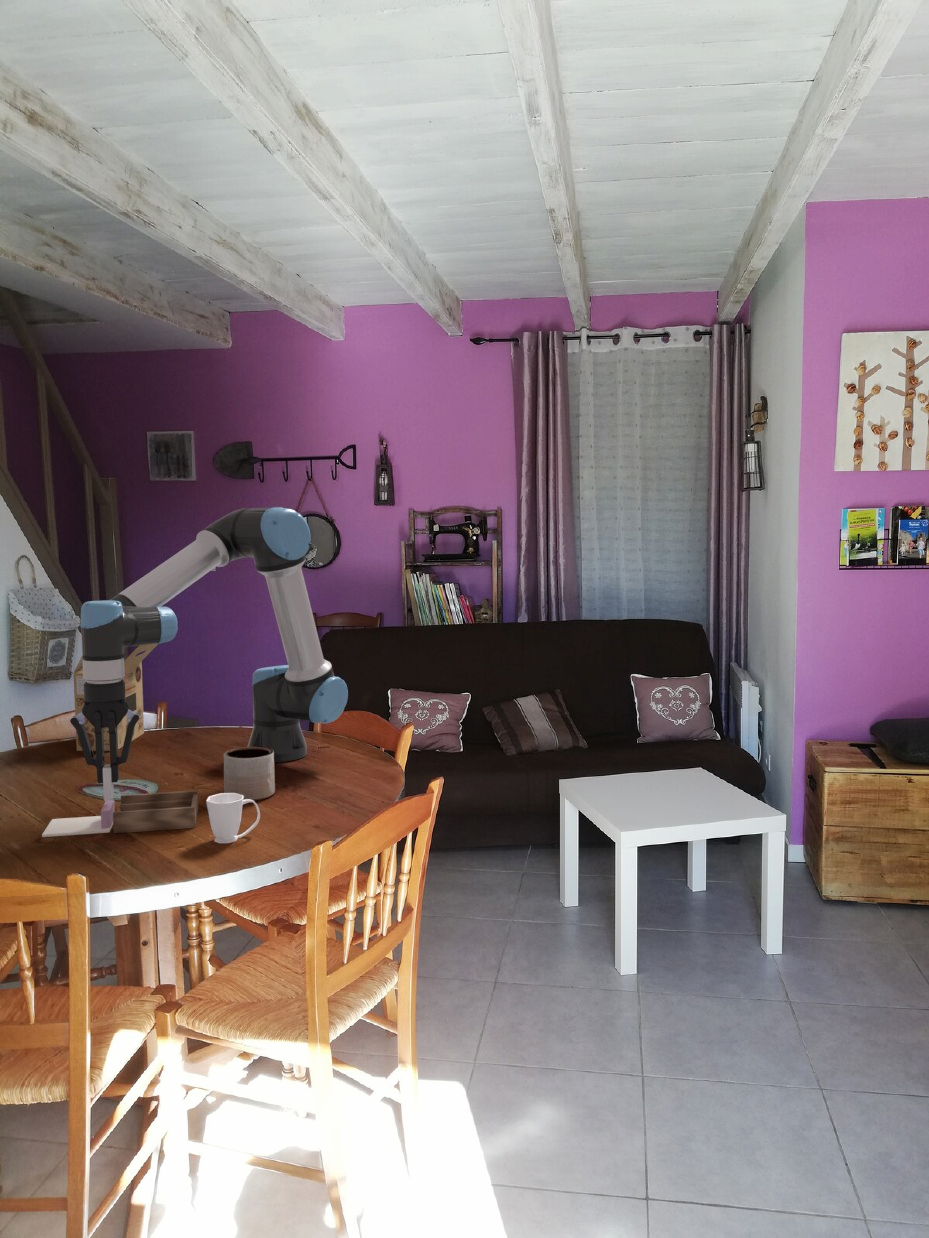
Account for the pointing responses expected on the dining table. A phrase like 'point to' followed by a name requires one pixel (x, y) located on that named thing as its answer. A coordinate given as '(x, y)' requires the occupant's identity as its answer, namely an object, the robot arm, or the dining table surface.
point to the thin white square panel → (83, 823)
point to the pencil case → (156, 811)
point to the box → (131, 693)
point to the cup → (227, 816)
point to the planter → (249, 772)
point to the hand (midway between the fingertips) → (108, 798)
